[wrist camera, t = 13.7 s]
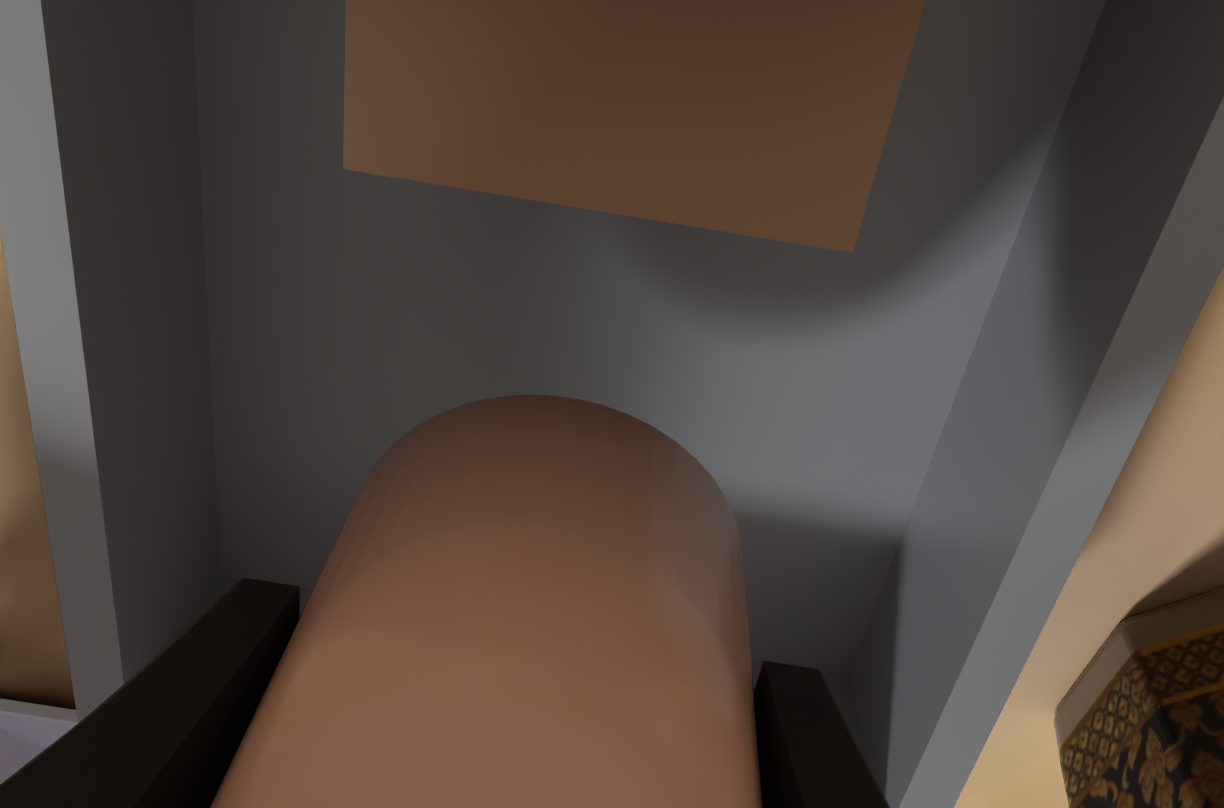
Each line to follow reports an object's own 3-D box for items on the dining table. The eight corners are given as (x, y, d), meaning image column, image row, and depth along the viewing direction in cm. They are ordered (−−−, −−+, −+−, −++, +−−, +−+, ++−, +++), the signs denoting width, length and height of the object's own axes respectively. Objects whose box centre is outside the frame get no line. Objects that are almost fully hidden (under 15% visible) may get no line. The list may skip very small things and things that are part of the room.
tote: (871, 680, 21) (914, 883, 17) (197, 574, 20) (83, 756, 16) (1306, -413, 12) (1612, -518, 8) (119, -641, 11) (-173, -869, 8)
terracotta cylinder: (696, 732, 14) (705, 1403, 8) (342, 672, 14) (90, 1311, 8) (788, 437, 12) (895, 1093, 6) (359, 359, 12) (12, 952, 6)
